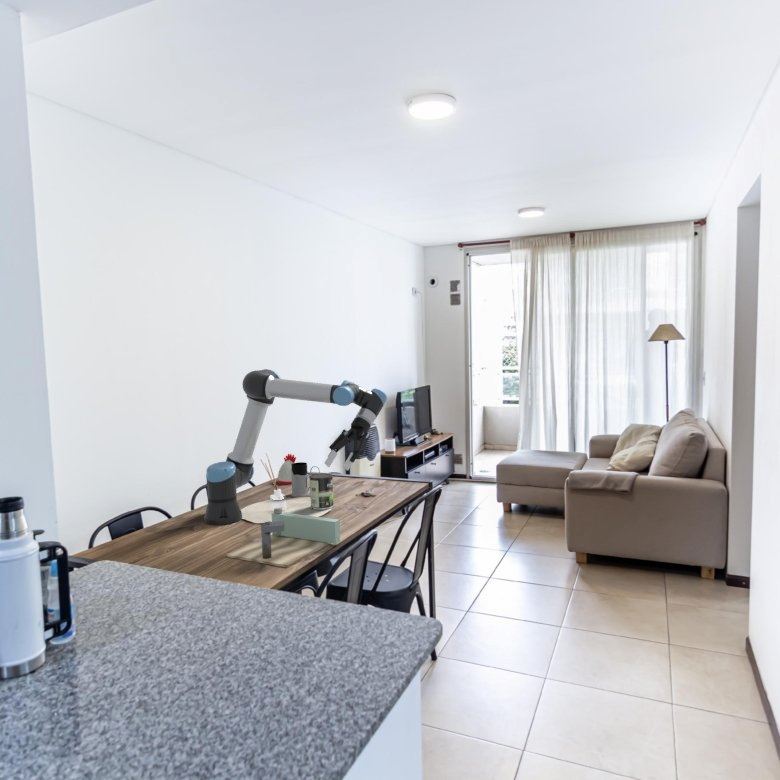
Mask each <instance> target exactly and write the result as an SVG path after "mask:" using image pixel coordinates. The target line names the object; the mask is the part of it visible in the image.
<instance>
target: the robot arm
mask: <svg viewBox="0 0 780 780" xmlns="http://www.w3.org/2000/svg"><path fill="white" fill-rule="evenodd" d="M241 384H242V390H243V391H244V393H245V394H246V398H247V399H248V402H247V405H246V408H245V410H244V411H245V412H244V415H243V419H242V421H241V425H240V427H239V431H238V434H237V437H236V439H235V442H234V446H233V449H232V451H230V452H229V453H227V456H226V459H225V461H218V462H215V463H212V464H210V465H208V467H207V468H206V475H205V479H206V492H207V493H206V494H207V505H206V510H205V514H204V517H203V519H204V521H203V522H204V523H205V524H206V525H210V526H211V525H213V526H221V525H229V524H233V523H237V522H239V521H240V520H242V519H243V513H242V510H241V509H240V505H239V502H238V498H237V497H238V496H237V495H238V494H237V490H238V489H239V488H241V487H243V486H245V485H247V484H248V483H249V482H250V481H251V480H252V479H253V476H254V473H255V468H254V462H255V460H254V458H253V456H254V455H253V454H254V452H255V449H256V446H257V442H258V439H259V436H260V433H261V429H262V426H263V424H264V421H265V418H266V414H267V412H268V411H267V410H268V408H269V407H270V406H272V405H273V403H274V400H275V398H281V399H288V400H289V399H290V400H299V401H308V402H318V403H325V404H333V405H337V406H343V407H346V406H348V405H351V404H352V403H353V404H355V405H356V406H357V407H360V409H359V410H358V412H357V414H356V415H355V417H354V419H353V420H352V421H351V423H350V428H349V429H348V430H346V429H343V430H342V431H341V433H340V434H339V436H338V437H336V438H335V440H334V441H333V442H332V443H331V444H330V446H328V448H329V450H330V452H329V454H328V455H327V458H326V459H325V461H324V465H326V467H328V468H330V467H331V466H332V464H333V462H334V460H335V459H336V457H337V455H338V452H340V451H341V450H342V448H344V447H345V446H346V445H348V444H350V443H352V442H353V450H352V452H350V453H349V455H348V457H347V458H346V461H345V462H344V463H343V468H344V469H345V470H346V471H349V470H350V468H351V467H352V465H353V463H355V461H356V460H357V457H359V456H363V455H364V452H365V449H366V447H367V444H368V440H369V439H370V437H371V435H370V434H369V431H370V430H371V427H372V426H373V424H374V423H375V421H376V419H377V418H378V415H380V412H381V410H382V409H383V407H384V406H385V404H386V402H387V400H388V397H387V394H386V393H385V392H384V391H383V390H382V389H379V388H377V387H375V388H372V389H371V391H370V390H368V389H365V388H363V387H362V386H360V385H358V384H356V383H354V382H352V381H350V380H348V379H345V380H343V381H342V382H341V384H330V383H321V382H312V381H302V380H294V379H293V380H292V379H283V378H281V376H280V375H279V373H278V372H276V371H275V370H272V369H267V368H265V369H260V370H259V369H258V370H257V369H256V370H252V371H250V372H248V373H247V374H245V376H244V378H243V379H242V383H241Z"/></svg>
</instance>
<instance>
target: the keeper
mask: <svg viewBox="0 0 780 780" xmlns="http://www.w3.org/2000/svg"><path fill="white" fill-rule="evenodd" d="M284 527H285V525H284V521H277V522H272V521H266V522H263V523H261V524H260V531H261V532H260V535H261V538H262V558H263V559H269V558H271V557H272V554H271V533H272V532H281V531H284Z"/></svg>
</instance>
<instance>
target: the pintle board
mask: <svg viewBox="0 0 780 780" xmlns="http://www.w3.org/2000/svg"><path fill="white" fill-rule="evenodd" d="M273 512H274V513H275V514H279V513H282V512H283V508H282V507H275V508H273ZM329 544H331V543H326V542H319V541H313V540H306V539H299V538H293V537H286V536H273V535H272V532H271V554H272V557H271V558H269V559H263V558H262V537H260V538H258V539H256V540H253V541H251V542H249V543H247V544H245V545H244V546H241V547H238V548H237V549H234V550H232V551H230V552H228V553H225V557H226V558H232V559H236V560H243V561H248V562H253V563H259V564H266V565H271V566H276V567H283V568H290V567H291V566H293V565H296V564H297V563H299V562H301V561H302V560H304V559H305V558H308V557H309V556H311V555H312V554H314V553H316V552H317V551H319V550H321V549H323V548H325V547H326V546H328V545H329Z"/></svg>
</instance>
